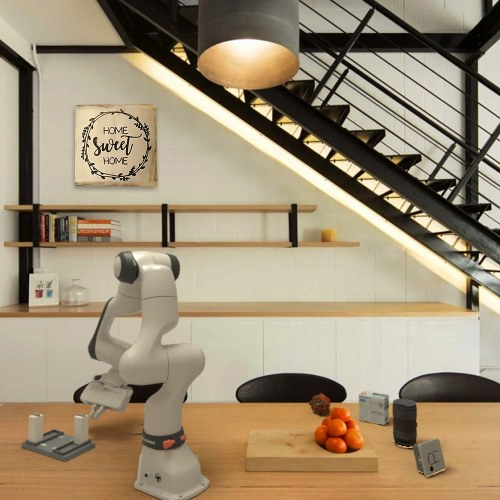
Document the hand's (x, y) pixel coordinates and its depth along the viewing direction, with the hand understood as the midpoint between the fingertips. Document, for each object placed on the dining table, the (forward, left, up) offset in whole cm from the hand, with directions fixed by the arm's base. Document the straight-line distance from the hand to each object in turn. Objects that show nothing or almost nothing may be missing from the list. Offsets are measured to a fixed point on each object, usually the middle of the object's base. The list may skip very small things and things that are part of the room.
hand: (93, 418), depth 151 cm
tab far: (+9, +16, -6) cm, 19 cm away
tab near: (-2, +5, -6) cm, 9 cm away
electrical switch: (-95, -60, -8) cm, 113 cm away
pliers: (-8, -21, -9) cm, 24 cm away
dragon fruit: (-43, -79, -8) cm, 91 cm away
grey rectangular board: (+4, +11, -8) cm, 14 cm away
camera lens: (-82, -73, -8) cm, 111 cm away
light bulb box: (-64, -86, -8) cm, 108 cm away
